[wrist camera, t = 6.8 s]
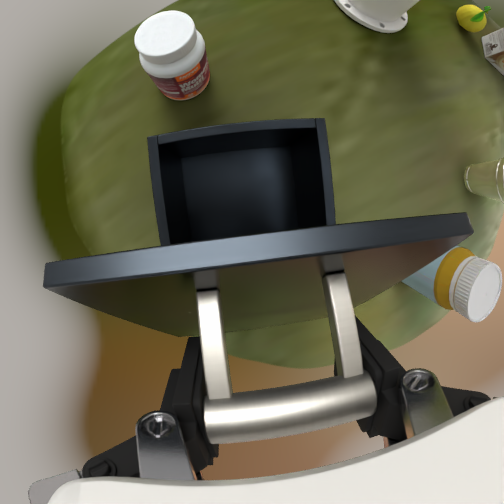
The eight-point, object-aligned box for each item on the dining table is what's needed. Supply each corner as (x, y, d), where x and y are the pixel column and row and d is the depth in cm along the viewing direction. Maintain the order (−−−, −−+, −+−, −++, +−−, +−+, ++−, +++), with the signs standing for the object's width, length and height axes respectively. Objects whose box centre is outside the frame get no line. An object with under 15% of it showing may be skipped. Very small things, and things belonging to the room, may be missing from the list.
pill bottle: (194, 108, 28) (176, 70, 17) (149, 92, 27) (114, 53, 16) (219, 66, 27) (215, 15, 16) (175, 51, 26) (153, 1, 15)
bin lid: (44, 261, 7) (54, 448, 5) (467, 211, 7) (504, 372, 5) (176, 327, 22) (184, 393, 20) (339, 305, 23) (349, 370, 21)
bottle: (389, 285, 35) (459, 335, 20) (389, 235, 33) (469, 266, 18) (426, 276, 35) (497, 315, 20) (428, 229, 33) (507, 253, 19)
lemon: (464, 17, 25) (494, 2, 15) (474, 40, 26) (507, 27, 16) (442, 7, 25) (472, -12, 15) (453, 31, 26) (487, 14, 16)
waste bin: (174, 153, 29) (147, 137, 19) (294, 139, 30) (324, 118, 19) (193, 286, 33) (178, 329, 22) (306, 271, 33) (338, 308, 23)
